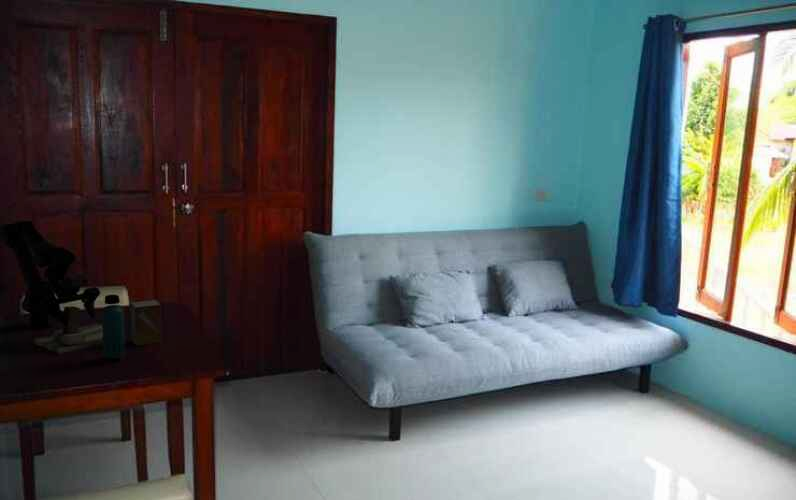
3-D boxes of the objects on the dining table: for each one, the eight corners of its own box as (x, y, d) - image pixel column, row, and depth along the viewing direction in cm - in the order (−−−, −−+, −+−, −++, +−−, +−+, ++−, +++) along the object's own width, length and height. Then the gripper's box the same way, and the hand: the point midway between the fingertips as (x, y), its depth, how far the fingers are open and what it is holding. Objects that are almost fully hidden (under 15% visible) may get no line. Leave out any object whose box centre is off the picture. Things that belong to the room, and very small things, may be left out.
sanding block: (53, 339, 219) (55, 306, 218) (71, 337, 224) (74, 304, 223) (67, 345, 214) (69, 310, 213) (85, 342, 219) (88, 309, 218)
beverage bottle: (112, 365, 206) (109, 299, 202) (98, 360, 209) (95, 295, 205) (131, 359, 211) (128, 295, 207) (117, 354, 214) (114, 291, 211)
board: (33, 343, 221) (33, 338, 221) (97, 327, 239) (97, 323, 239) (59, 354, 213) (59, 349, 212) (123, 337, 230) (123, 332, 230)
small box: (136, 346, 222) (134, 307, 219) (131, 340, 227) (129, 302, 225) (161, 342, 226) (160, 304, 224) (156, 337, 232) (155, 299, 229)
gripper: (39, 272, 212) (60, 313, 208) (96, 262, 227) (117, 301, 223) (27, 292, 218) (48, 333, 214) (83, 282, 233) (103, 320, 229)
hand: (80, 321), depth 220 cm, fingers open, 9 cm apart
